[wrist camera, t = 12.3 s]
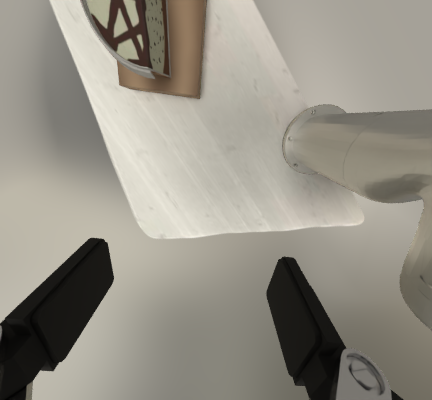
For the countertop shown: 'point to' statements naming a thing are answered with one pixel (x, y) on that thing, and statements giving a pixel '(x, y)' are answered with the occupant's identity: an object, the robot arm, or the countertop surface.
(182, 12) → the walnut stand
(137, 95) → the countertop surface
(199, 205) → the countertop surface
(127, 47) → the food container
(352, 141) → the robot arm
